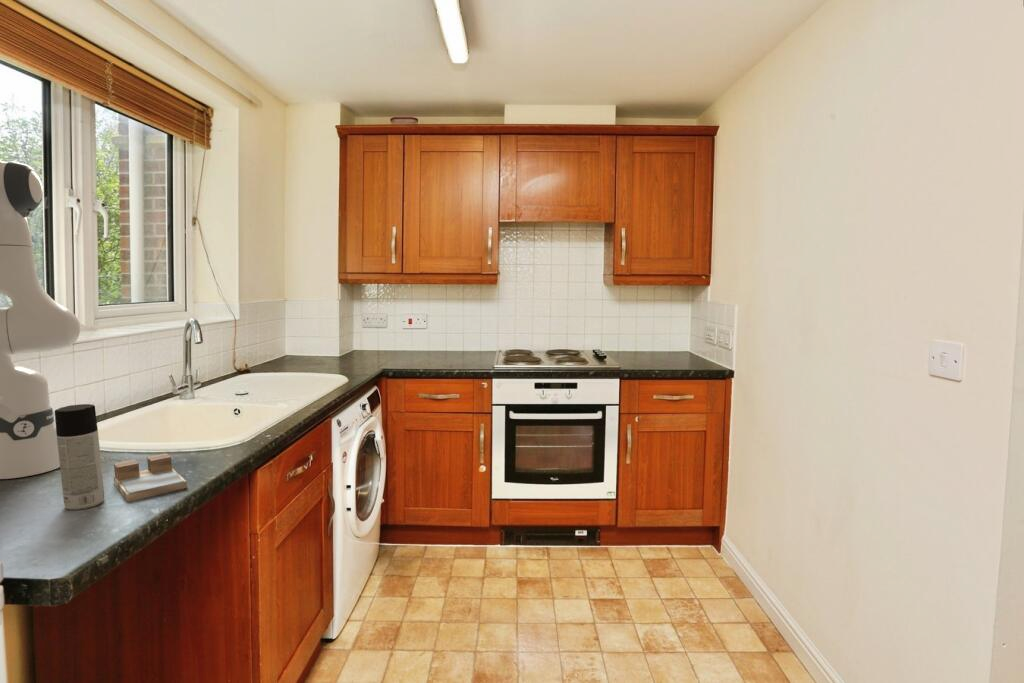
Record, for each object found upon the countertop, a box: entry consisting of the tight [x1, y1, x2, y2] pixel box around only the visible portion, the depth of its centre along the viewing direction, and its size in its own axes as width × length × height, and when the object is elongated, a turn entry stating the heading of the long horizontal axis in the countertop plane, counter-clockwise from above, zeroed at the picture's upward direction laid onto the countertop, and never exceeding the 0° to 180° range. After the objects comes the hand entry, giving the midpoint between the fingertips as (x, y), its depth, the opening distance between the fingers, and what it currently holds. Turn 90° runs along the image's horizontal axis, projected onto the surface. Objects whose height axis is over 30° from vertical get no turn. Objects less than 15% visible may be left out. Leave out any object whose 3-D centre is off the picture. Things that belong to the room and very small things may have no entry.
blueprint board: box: [113, 452, 188, 502], centre depth 129 cm, size 15×11×4 cm
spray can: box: [54, 403, 105, 511], centre depth 118 cm, size 7×7×20 cm
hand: (8, 415), depth 109 cm, fingers open, 8 cm apart
